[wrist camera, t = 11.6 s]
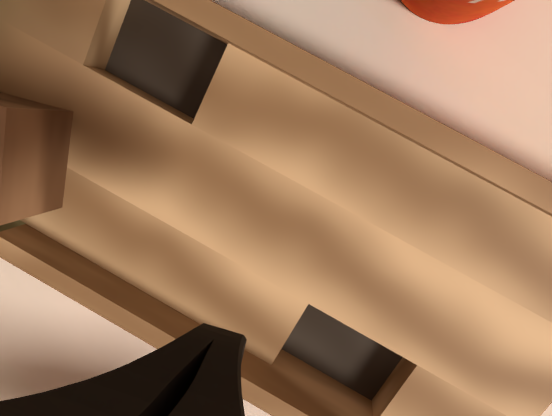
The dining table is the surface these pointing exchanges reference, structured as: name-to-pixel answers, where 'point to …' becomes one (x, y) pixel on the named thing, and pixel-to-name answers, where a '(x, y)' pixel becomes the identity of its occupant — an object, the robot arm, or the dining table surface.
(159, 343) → the trap box
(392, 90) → the dining table surface
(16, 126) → the block
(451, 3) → the coffee cup
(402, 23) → the dining table surface
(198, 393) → the robot arm
